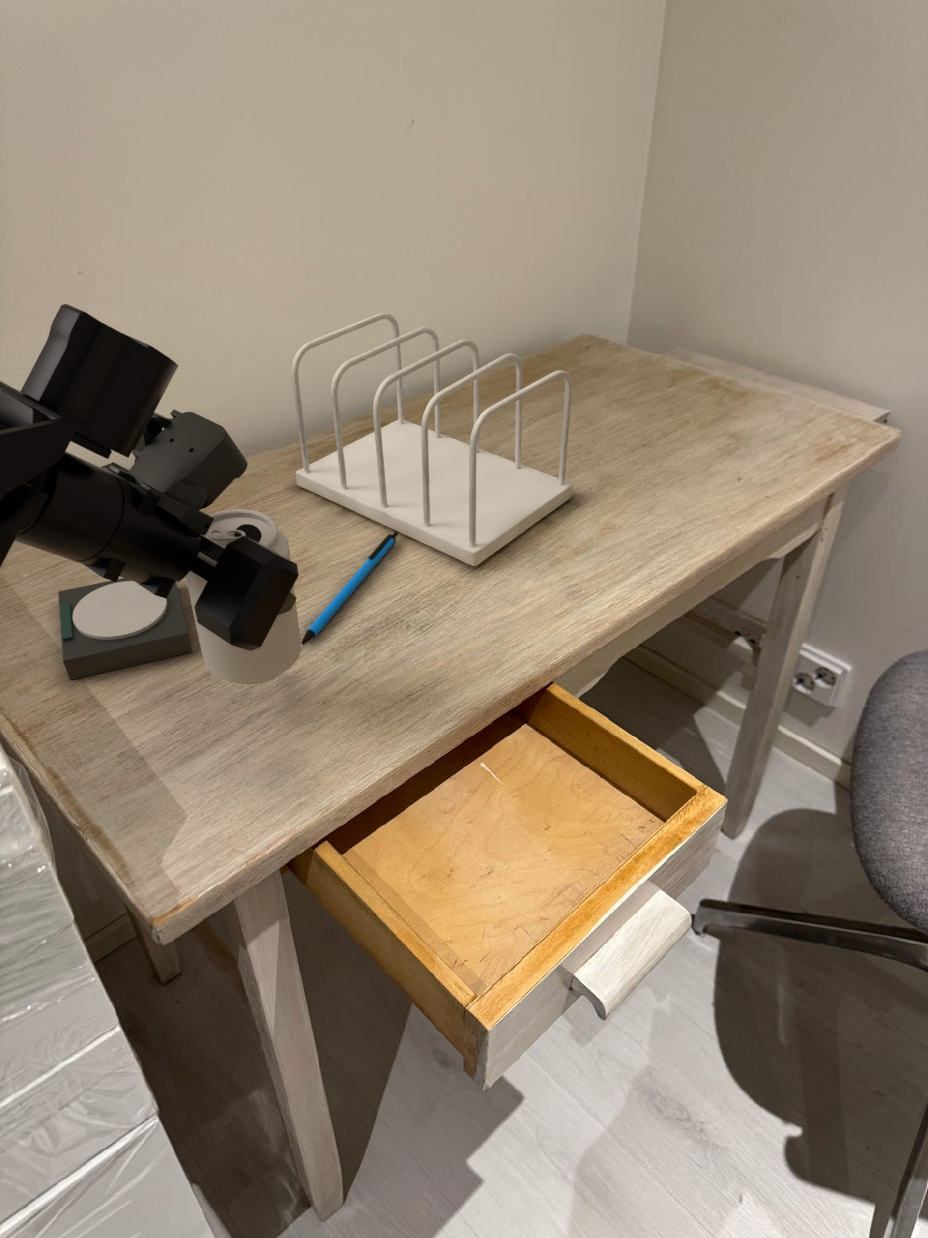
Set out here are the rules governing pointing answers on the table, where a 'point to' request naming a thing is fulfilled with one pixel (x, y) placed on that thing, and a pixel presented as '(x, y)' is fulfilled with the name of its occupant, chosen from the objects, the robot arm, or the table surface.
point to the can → (284, 633)
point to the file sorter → (434, 461)
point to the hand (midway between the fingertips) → (258, 583)
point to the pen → (349, 588)
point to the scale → (119, 627)
